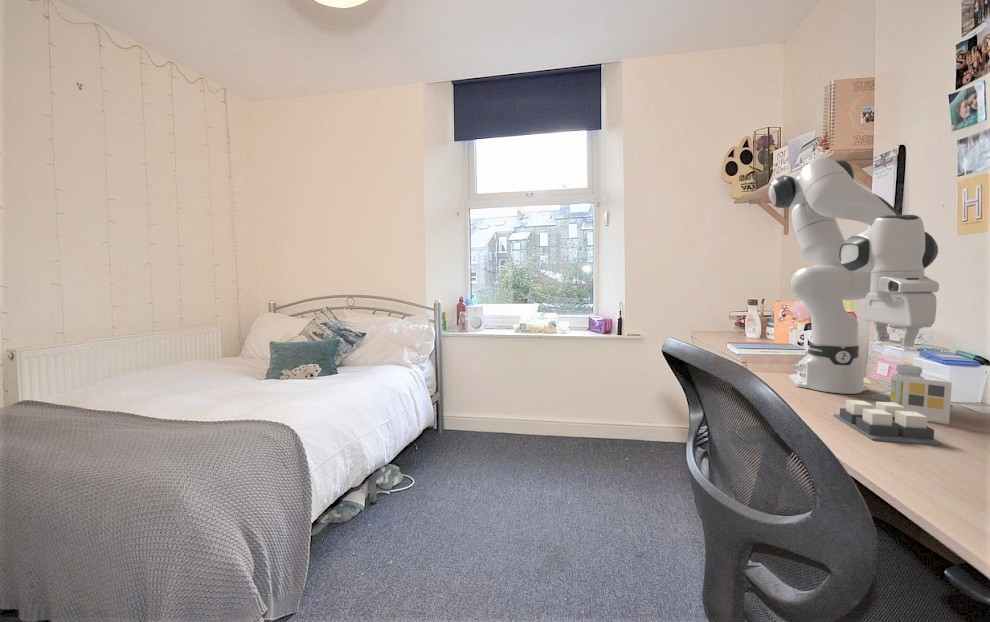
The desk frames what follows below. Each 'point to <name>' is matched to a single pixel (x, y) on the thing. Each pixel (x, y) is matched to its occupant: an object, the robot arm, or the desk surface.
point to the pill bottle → (898, 381)
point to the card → (927, 398)
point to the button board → (888, 430)
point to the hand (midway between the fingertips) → (894, 343)
